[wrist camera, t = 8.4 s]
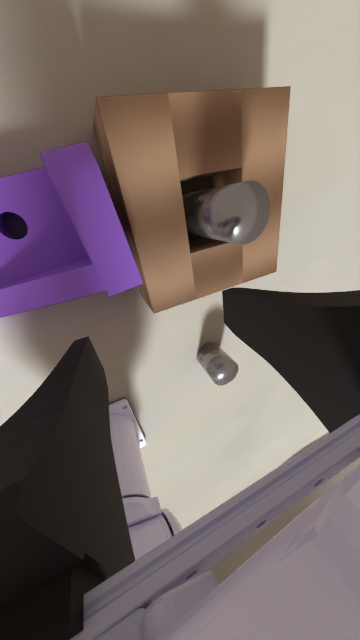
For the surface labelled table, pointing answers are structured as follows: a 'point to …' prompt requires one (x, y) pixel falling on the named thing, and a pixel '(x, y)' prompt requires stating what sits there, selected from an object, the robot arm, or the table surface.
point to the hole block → (189, 164)
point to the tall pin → (228, 212)
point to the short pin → (217, 363)
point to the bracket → (62, 234)
